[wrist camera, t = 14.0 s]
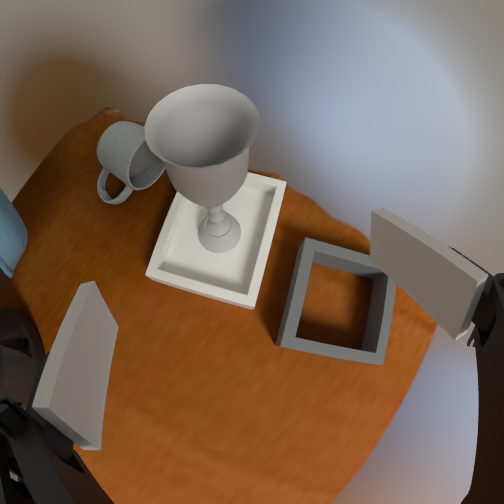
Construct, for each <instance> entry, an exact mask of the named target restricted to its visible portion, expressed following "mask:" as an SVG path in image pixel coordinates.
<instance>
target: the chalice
mask: <svg viewBox="0 0 504 504" xmlns="http://www.w3.org/2000/svg"><path fill="white" fill-rule="evenodd" d="M144 127H145V140H146V142H147V144H148V146H149V148H150V150H151V151H152V152H153V153H154V154H155V155H156V156H158V157H159V158H160V159H161V160H162V161H163V164H164V166H165V169H166V171H167V174H168V176H169V179H170V181H171V183H172V184H173V186H174V188H175V189H176V190H177V191H178V192H179V193H180V194H181V195H182V196H183V197H185V198H186V199H188V200H189V201H191V202H193V203H195V204H197V205H200V206H204V207H206V208H207V210H208V212H207V216H206V217H205V218H204V219H203V220H202V221H201V223H200V225H199V227H198V239H199V241H200V243H201V245H202V246H203V247H204V248H205V249H206V250H208V251H210V252H213V253H224V252H228V251H230V250H231V249H233V248H234V247H235V246H236V245H237V244H238V242H239V240H240V238H241V228H240V224H239V223H238V221H237V220H236V219H235V218H234V217H233V216H232V215H230V214H228V213H226V212H224V210H223V209H222V208H223V204H224V203H225V202H227V201H229V200H230V199H231V198H232V197H233V196H234V195H235V194H236V193H237V191H238V190H239V189H240V188H241V186H242V185H243V183H244V181H245V179H246V176H247V174H248V158H249V157H248V156H249V146H250V145H251V144H252V143H253V141H254V139H255V137H256V135H257V133H258V131H259V115H258V113H257V110H256V108H255V106H254V104H253V103H252V102H251V101H250V100H249V99H248V98H247V97H246V96H245V95H243V94H242V93H240V92H238V91H236V90H234V89H232V88H229V87H225V86H221V85H217V84H199V85H194V86H188V87H184V88H182V89H179V90H177V91H175V92H172V93H170V94H169V95H167V96H166V97H165V98H163V99H162V100H161V101H159V102H158V103H157V104H156V106H155V107H154V108H153V110H152V111H151V112H150V113H149V115H148V118H147V121H146V123H145V126H144Z"/></svg>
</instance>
